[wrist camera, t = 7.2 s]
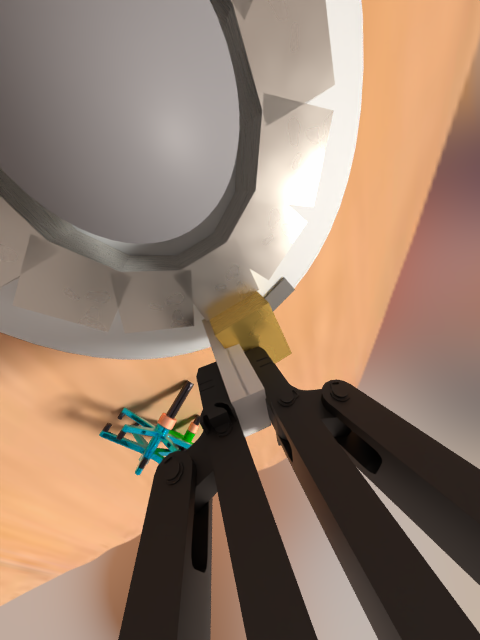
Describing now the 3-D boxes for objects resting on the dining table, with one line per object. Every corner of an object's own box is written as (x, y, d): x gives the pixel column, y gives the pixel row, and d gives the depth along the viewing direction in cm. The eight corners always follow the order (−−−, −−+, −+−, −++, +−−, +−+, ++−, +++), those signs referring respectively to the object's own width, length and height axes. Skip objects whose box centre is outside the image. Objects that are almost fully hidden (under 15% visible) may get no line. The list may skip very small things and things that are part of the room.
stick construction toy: (74, 431, 15) (134, 504, 11) (135, 350, 18) (201, 387, 14) (168, 442, 24) (219, 484, 21) (199, 388, 27) (249, 416, 23)
